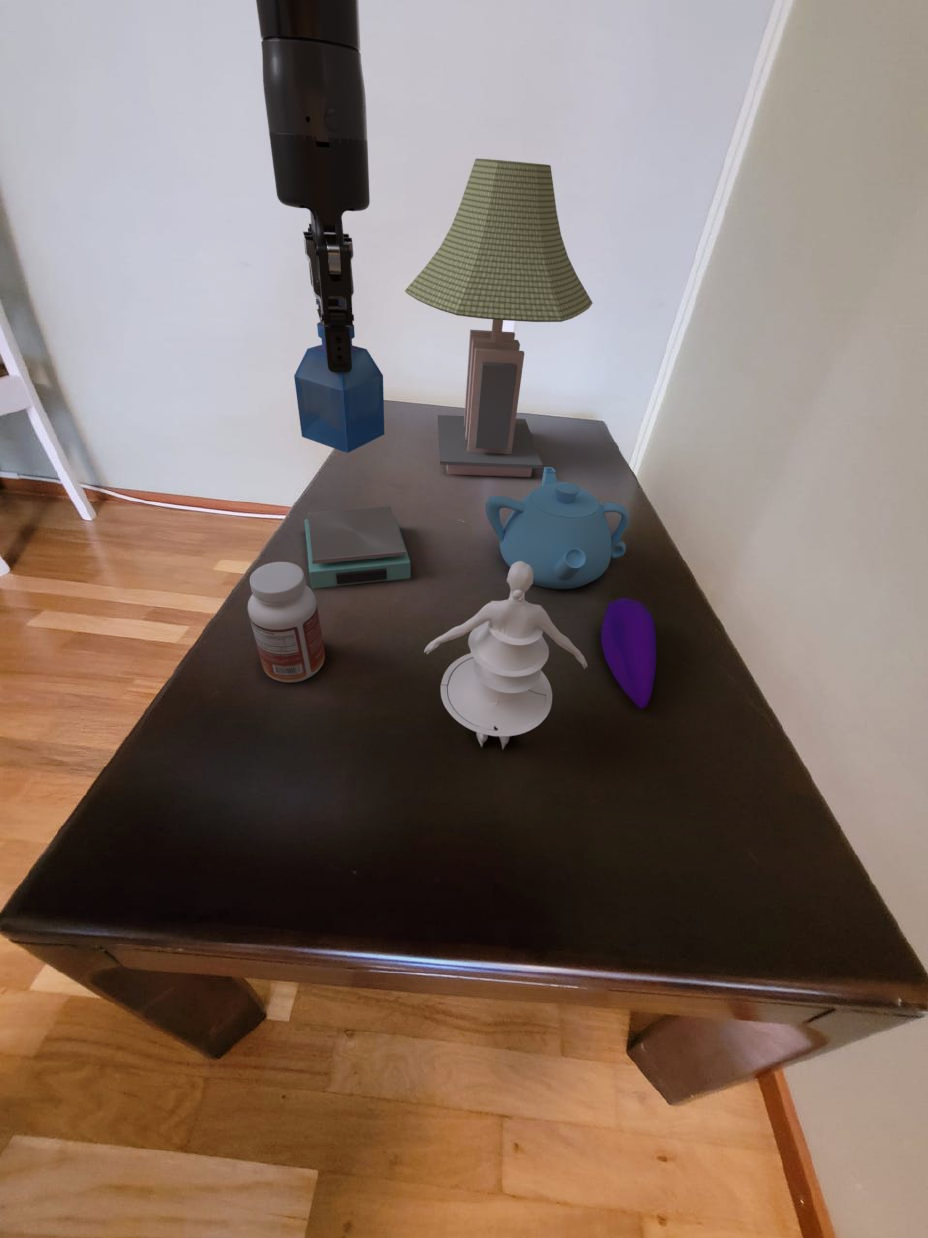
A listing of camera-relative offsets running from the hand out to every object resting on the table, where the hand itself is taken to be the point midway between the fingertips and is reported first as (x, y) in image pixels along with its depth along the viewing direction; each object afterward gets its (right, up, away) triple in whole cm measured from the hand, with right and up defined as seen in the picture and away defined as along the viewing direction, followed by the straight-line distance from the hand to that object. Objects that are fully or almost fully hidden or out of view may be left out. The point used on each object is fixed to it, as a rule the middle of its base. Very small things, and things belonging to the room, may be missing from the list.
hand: (337, 360), depth 53 cm
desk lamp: (+16, +4, +44) cm, 47 cm away
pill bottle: (-5, -30, +2) cm, 31 cm away
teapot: (+24, -18, +19) cm, 36 cm away
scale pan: (-1, -15, +15) cm, 21 cm away
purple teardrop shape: (+30, -31, +6) cm, 43 cm away
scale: (-2, -17, +17) cm, 24 cm away
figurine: (+15, -36, -3) cm, 40 cm away
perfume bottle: (-1, -6, +5) cm, 8 cm away
